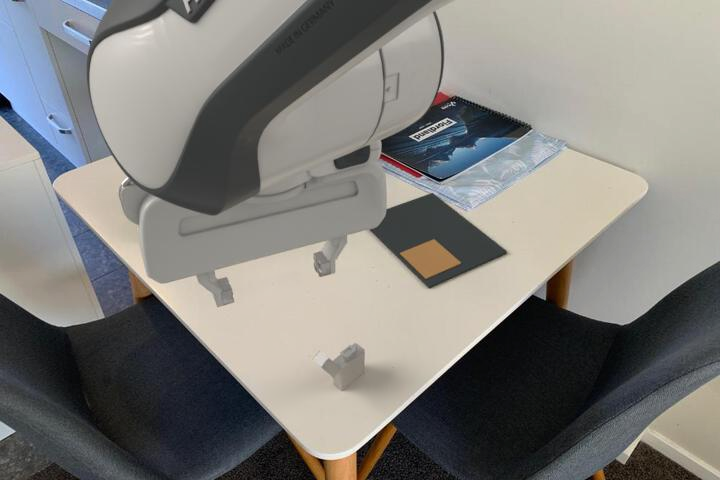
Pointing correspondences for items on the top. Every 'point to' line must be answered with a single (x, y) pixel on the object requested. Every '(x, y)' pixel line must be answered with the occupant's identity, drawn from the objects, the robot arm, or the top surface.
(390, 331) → the top surface
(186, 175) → the robot arm
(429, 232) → the mat
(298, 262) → the top surface
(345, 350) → the lighter
